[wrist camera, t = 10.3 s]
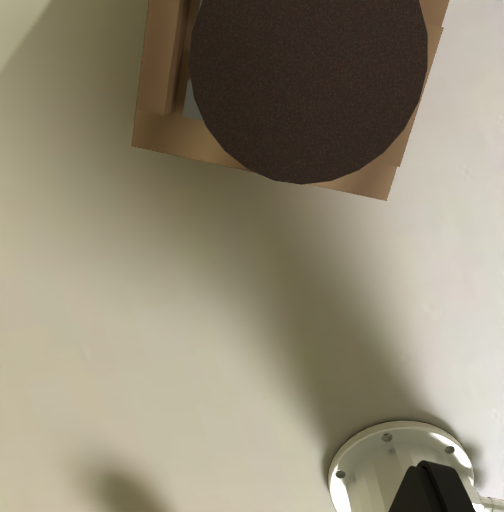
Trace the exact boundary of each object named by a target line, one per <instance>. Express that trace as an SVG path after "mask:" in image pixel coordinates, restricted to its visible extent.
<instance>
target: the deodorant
mask: <svg viewBox="0 0 504 512" xmlns="http://www.w3.org/2000/svg"><path fill="white" fill-rule="evenodd" d="M427 68H428V33H427V29H426V25H425V21H424V18H423V14H422V10H421V6H420V2H419V0H203V1H202V4H201V7H200V10H199V13H198V16H197V19H196V22H195V24H194V27H193V30H192V36H191V47H190V58H189V70H190V76H191V83H192V89H193V96H194V99H195V102H196V104H197V107H198V109H199V111H200V114H201V116H202V118H203V121H204V123H205V125H206V127H207V129H208V130H209V131H210V133H211V134H212V135H213V137H214V138H215V139H216V141H217V142H218V143H219V144H220V146H221V147H222V148H223V150H224V151H225V152H227V153H228V154H229V155H230V156H232V157H233V158H234V159H235V160H237V161H238V162H239V163H240V164H242V165H243V166H244V167H246V168H247V169H249V170H251V171H253V172H256V173H258V174H260V175H263V176H265V177H267V178H270V179H272V180H275V181H282V182H288V183H295V184H311V183H320V182H328V181H333V180H335V179H338V178H341V177H343V176H346V175H348V174H351V173H354V172H356V171H359V170H360V169H361V168H363V167H364V166H366V165H367V164H369V163H370V162H371V161H373V160H374V159H376V158H377V157H378V156H380V155H381V154H383V153H384V152H385V151H386V150H387V148H388V147H389V146H390V145H391V144H392V143H393V142H394V140H395V139H396V138H397V137H398V136H399V135H400V134H401V132H402V131H403V130H404V129H405V127H406V125H407V123H408V121H409V119H410V118H411V116H412V114H413V112H414V110H415V108H416V106H417V104H418V102H419V100H420V96H421V92H422V88H423V84H424V80H425V76H426V72H427Z"/></svg>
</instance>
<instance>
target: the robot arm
mask: <svg viewBox="0 0 504 512" xmlns="http://www.w3.org/2000/svg"><path fill="white" fill-rule="evenodd" d="M328 484H329V492H330V496H331V501H332V503H333V505H334V507H335V509H336V511H337V512H504V500H501V499H495V498H490V497H487V498H486V497H481V496H480V495H479V493H477V492H476V491H475V489H474V487H473V486H474V473H473V468H472V464H471V462H470V460H469V458H468V456H467V454H466V452H465V450H464V449H463V447H462V446H461V444H460V443H459V442H458V441H457V440H456V439H455V438H454V437H453V436H452V435H450V434H449V433H447V432H445V431H444V430H442V429H440V428H438V427H435V426H433V425H430V424H427V423H421V422H416V421H393V422H385V423H382V424H378V425H375V426H372V427H370V428H367V429H365V430H363V431H361V432H359V433H358V434H356V435H355V436H353V437H352V438H350V439H349V440H348V441H347V442H346V443H345V444H344V445H343V446H342V447H341V448H340V449H339V451H338V452H337V453H336V455H335V456H334V458H333V460H332V463H331V465H330V468H329V475H328Z"/></svg>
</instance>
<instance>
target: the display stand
mask: <svg viewBox="0 0 504 512" xmlns="http://www.w3.org/2000/svg"><path fill="white" fill-rule="evenodd" d="M202 1H203V0H149V4H148V13H147V21H146V29H145V38H144V46H143V54H142V63H141V71H140V79H139V88H138V96H137V104H136V113H135V121H134V130H133V138H132V146H134V147H139V148H144V149H148V150H153V151H157V152H162V153H167V154H171V155H176V156H181V157H185V158H190V159H195V160H199V161H204V162H208V163H213V164H218V165H222V166H227V167H232V168H236V169H241V170H246V171H250V172H253V171H251V170H249V169H247V168H246V167H244V166H243V165H242V164H240V163H239V162H238V161H237V160H235V159H234V158H233V157H232V156H230V155H229V154H228V153H227V152H225V151H224V150H223V148H222V147H221V146H220V144H219V143H218V142H217V141H216V139H215V138H214V137H213V135H212V134H211V133H210V131H209V130H208V129H207V127H206V125H205V123H204V121H203V118H202V116H201V114H200V111H199V109H198V107H197V104H196V102H195V99H194V96H193V89H192V83H191V76H190V70H189V58H190V47H191V36H192V30H193V27H194V24H195V22H196V19H197V16H198V13H199V10H200V7H201V4H202ZM419 2H420V6H421V10H422V14H423V18H424V21H425V25H426V29H427V33H428V68H427V72H426V76H425V80H424V84H423V88H422V92H421V96H420V100H419V102H418V104H417V106H416V108H415V110H414V112H413V114H412V116H411V118H410V119H409V121H408V123H407V125H406V127H405V129H404V130H403V131H402V132H401V134H400V135H399V136H398V137H397V138H396V139H395V140H394V142H393V143H392V144H391V145H390V146H389V147H388V148H387V150H386V151H385V152H384V153H383V154H381V155H380V156H378V157H377V158H376V159H374V160H373V161H371V162H370V163H369V164H367V165H366V166H364V167H363V168H361V169H360V170H359V171H356V172H354V173H351V174H348V175H346V176H343V177H341V178H338V179H335V180H333V181H328V182H320V183H311V185H315V186H320V187H324V188H329V189H334V190H338V191H343V192H348V193H352V194H357V195H362V196H366V197H371V198H375V199H380V200H385V201H387V198H388V194H389V191H390V188H391V185H392V182H393V178H394V175H395V172H396V169H397V166H398V167H400V164H401V161H402V158H403V154H404V151H405V148H406V145H407V142H408V139H409V135H410V132H411V129H412V126H413V123H414V120H415V116H416V113H417V110H418V107H419V104H420V101H421V97H422V94H423V91H424V88H425V85H426V82H427V78H428V75H429V72H430V69H431V66H432V63H433V59H434V56H435V53H436V50H437V47H438V44H439V40H440V37H441V34H442V31H443V27H441V26H442V22H443V19H444V16H445V13H446V10H447V6H448V3H449V0H419ZM255 173H256V172H255Z"/></svg>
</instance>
